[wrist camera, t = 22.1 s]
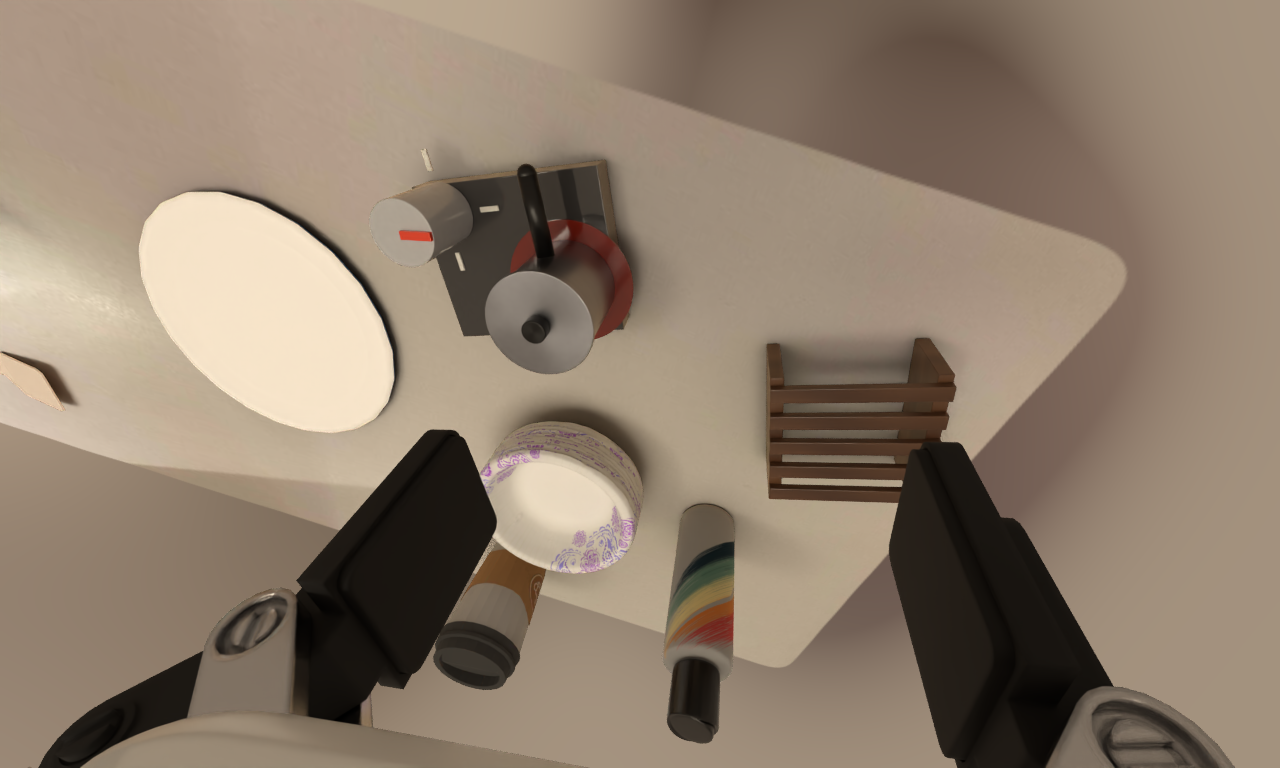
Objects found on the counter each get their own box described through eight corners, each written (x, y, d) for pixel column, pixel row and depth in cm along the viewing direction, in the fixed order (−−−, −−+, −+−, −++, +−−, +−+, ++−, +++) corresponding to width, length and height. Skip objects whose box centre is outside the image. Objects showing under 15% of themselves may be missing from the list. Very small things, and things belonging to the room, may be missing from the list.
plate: (143, 337, 52) (131, 342, 50) (157, 120, 38) (141, 122, 37) (360, 463, 56) (353, 470, 55) (437, 309, 43) (430, 315, 42)
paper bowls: (529, 376, 46) (493, 427, 39) (674, 444, 47) (663, 506, 40) (490, 477, 54) (455, 534, 47) (614, 533, 55) (597, 595, 49)
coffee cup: (561, 571, 61) (514, 699, 48) (497, 559, 62) (436, 682, 49) (558, 525, 56) (506, 654, 44) (489, 513, 57) (419, 636, 45)
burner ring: (495, 225, 36) (495, 225, 36) (623, 213, 34) (623, 213, 34) (528, 342, 41) (528, 343, 41) (641, 338, 39) (641, 338, 38)
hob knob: (424, 241, 37) (377, 267, 32) (409, 180, 35) (356, 197, 30) (478, 244, 37) (438, 271, 32) (467, 182, 34) (422, 200, 29)
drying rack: (766, 343, 40) (770, 382, 35) (929, 338, 37) (958, 379, 32) (766, 457, 46) (769, 504, 41) (905, 459, 43) (927, 509, 38)
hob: (391, 151, 37) (369, 156, 34) (600, 122, 33) (590, 126, 31) (453, 325, 44) (438, 338, 42) (629, 316, 40) (623, 330, 38)
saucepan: (538, 329, 40) (496, 383, 33) (494, 161, 33) (430, 185, 26) (624, 325, 38) (598, 381, 31) (595, 148, 32) (555, 170, 25)
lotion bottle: (724, 546, 53) (716, 761, 37) (674, 530, 53) (644, 738, 37) (742, 512, 50) (743, 730, 34) (689, 496, 50) (664, 706, 34)
